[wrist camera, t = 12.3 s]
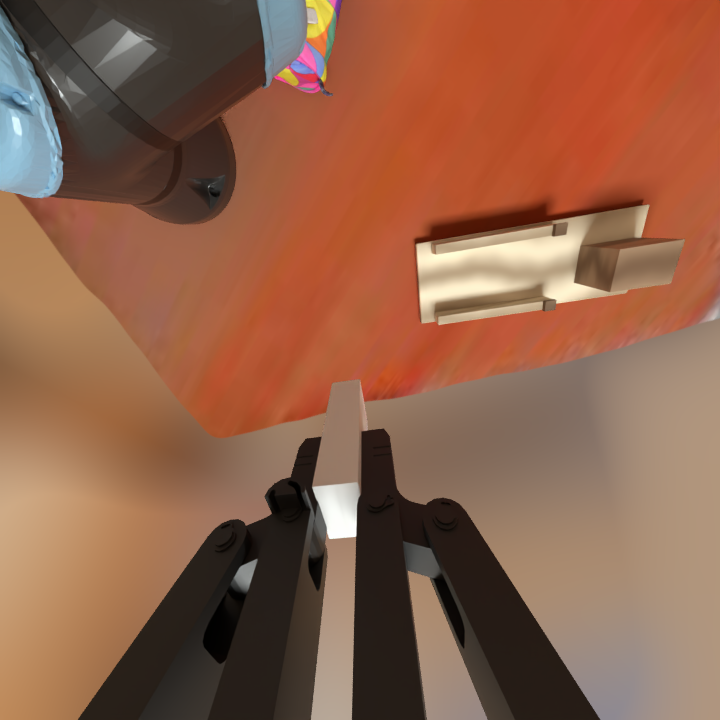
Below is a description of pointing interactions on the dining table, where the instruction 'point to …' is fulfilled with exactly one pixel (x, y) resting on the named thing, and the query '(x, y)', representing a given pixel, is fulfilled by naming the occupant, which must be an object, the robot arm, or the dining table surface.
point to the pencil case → (314, 48)
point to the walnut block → (628, 263)
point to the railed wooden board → (515, 266)
